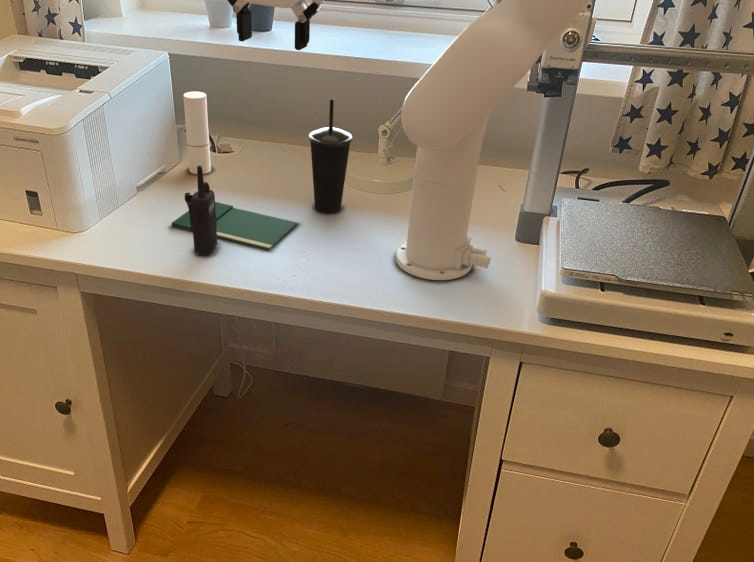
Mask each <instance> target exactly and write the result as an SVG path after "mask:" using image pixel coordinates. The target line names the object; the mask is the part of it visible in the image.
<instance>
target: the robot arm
mask: <svg viewBox="0 0 754 562" xmlns="http://www.w3.org/2000/svg"><path fill="white" fill-rule="evenodd" d="M324 1H325V0H312V2H311V3H310V4H308V3H307V2H306V0H227V2H228V4H230V6H231V7H232V12H234V14H236V15H235V16H236V33H237V36H238V41H239V42H242V43H243V42H245V41H247V40H250V39H251V38H252V37H253V23H252V21H253V20H252V19H253V18H252V11H251V9H249V8H250V7H251V4H252V5H258V6H266V7H272V8H274V7H275V8H282V9H291V11H292V12H293V14H294V16H295V17H296V18H297V21H295V22H294V49H295V50H296V51H301V50H303V49H305V48H307V47H308V44H309V42H310V39H311V37H310V33H311V30H310V29H311V28H310V27H311V19H313V18H314V16H315V15H316V14H317V13H318V12H319V11H320V10H321V8H322V5H323V4H324ZM592 1H593V0H501V1H500V2H499V3H498V4H497V5H496V6H494V7H493V8H491V9H489V10H488V11H486V12H485V13H484V14H482V15H480V16H479V17H478V18H476V19H474V20H473V21H471V22H470V23H469V24H468V25H467V26H466V27H465V28H464V29H463V30H462V31H461V32H460V33H459V34H458V35H457V36H456V37H455V39H454V40H453V41H452V42H451V43H450V44H449V46H447V47H446V48H445V50H444V51H443V52H442V53H441V54H440V56H439V57H438V58H437V59H436V60H435V61H434V62H433V63H432V65H431V66H430V67H429V68H428V70H426V71H425V73H423V75H422V76H421V78H419V80H418V81H417V82H416V83H415V84H414V85H413V87H412V88H411V89H410V90H409V91H408V93H407V94H406V96H405V98H404V101H403V104H402V107H401V113H400V118H401V119H400V120H401V127H402V129H403V132H404V134H405V136H406V138H407V139H408V141H409V142H411V143H412V145H414V146H415V147H417V148H416V155H415V163H414V171H413V180H412V190H411V199H410V207H409V208H410V209H409V218H408V228H407V235H406V236H407V237H406V242H404V243H402V244H401V245H399V247H398V248H397V250H396V251H395V252H396V253H395V261H396V265H398V266H399V267H400V269H402V270H403V271H404V272H406V273H407V274H409V275H412V276H414V277H417V278H420V279H424V280H431V281H451V280H455V279H458V278H461V277H463V276H465V275H467V274H468V273H469V272H470V271H471V270H472V267H473V265H474V266H476V267H479V268H484V269H488V268H489V266H490V263H491V259H492V257H491V256H489V255H487V253H488V251H487V249H483V248H477V247H474V246H473V245H472V244H471V241H472V236H468V233H469V232H468V231H469V225H470V220H471V213H472V206H473V200H474V193H475V187H476V181H477V176H478V170H479V164H480V157H481V152H482V147H483V142H484V138H485V134H486V129H487V126H488V122H489V118H490V114H491V110H492V109H493V108H494V107H495V106H496V105H497V104H498V103H499V102H501V100H502V99H503V98H504V97H505V96H506V95H507V94H508V93H509V92H510V91H511V90H512V89H513V88H514V87H515V86H516V85H517V84H518V83H519V82H521V80H522V79H523V78H524V77H526V75H527V74H528V73H529V72H530V70H531V69H533V67H534V66H535V64H537V63H536V62H537V61H538V60H539V58H540V57H541V56H542V54H543V53H545V51H546V50H547V49H548V48H549V47H550V46H551V45H552V44H553V42H555V41H556V39H558V38H559V36H561V34H562V33H563V32H564V31H565V30H566V29H567V28H568V27H569V26H570V25H571V24H572V23H573V22H574V20H575V19H576V18H577V17H578V16H579V15H580V14H581V13H582V12H583V11H584V10H585V9H586V7H587V6H588V5H589V4H590V3H591V2H592Z"/></svg>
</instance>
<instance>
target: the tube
mask: <svg viewBox="0 0 754 562" xmlns="http://www.w3.org/2000/svg"><path fill="white" fill-rule="evenodd" d="M182 96H183V107H184V120H185V121H184V122H185V132H186V143H187V144H186V146H187V156H188V157H187V158H188V170H189V172H190V173H191V174H194V175H197V167H198V166H202V171H203V175H206V174H208V173H211V171H212V167H211V166H212V165H211V163H212V162H211V150H210V149H211V148H210V135H209V117H208V116H209V115H208V103H207V94H206V93H205V92H203V91H195V90H194V91H187V92H185V93H184V94H183V95H182Z"/></svg>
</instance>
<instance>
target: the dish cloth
mask: <svg viewBox="0 0 754 562" xmlns="http://www.w3.org/2000/svg"><path fill="white" fill-rule="evenodd" d="M215 210H216V222H217V239H218V240H219V239H220V240H224V241H227V242H230V243H231V242H232V243H236V244H240V245H243V246H244V245H245V246H248V247H252V248H256V249H260V250H264V251H270V250H271V249H273V248H274V247H275V246H276V245H277V244H279V242H281V240H282V239H283V238H284V237H286V236H287V235H288V234H289V233H290V232H291V231H292V230H293V229H294V228H296V226H297V225H298V222H295V221H291V220H287V219H283V218H278V217H274V216H270V215H266V214H261V213H257V212H252V211H248V210H244V209H240V208H235V207H234V205H232V204H231V205H230V204H226V203H223V202H218V201H215ZM171 228H175V229H180V230H183V231H187V232H191V233H193V231H192V230H191V224H190V214H189V210H187V211H186V212H185V213H183V214H182V215H180V216H179V217H178V218H177V219H174V220H173V221H172V222H171Z"/></svg>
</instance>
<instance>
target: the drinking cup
mask: <svg viewBox="0 0 754 562" xmlns="http://www.w3.org/2000/svg"><path fill="white" fill-rule="evenodd" d="M334 105H335V99H334V98H330V99H329V114H328V117H329V118H328V126H327V127H326V126H325V127H321V128H318V129H315V130H313V131H311V132H310V133H309V134H308V140H309V141H310V155H311V156H310V157H311V168H312V169H311V170H312V184H313V199H314V201H313V202H314V209H315V210H316V211H317V212H320V213H323V214H334V213H337V212H340V210H341V208H342V207H341V206H342V202H343V197H344V195H343V194H344V187H345V182H346V176H347V175H346V174H347V168H348V161H349V153H350V149H351V148H350V146H351V143H352V142H353V136H352V134H351V133H350V132H348V131H346V130H343V129H341V128H338V127H334V108H335V107H334Z"/></svg>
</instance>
